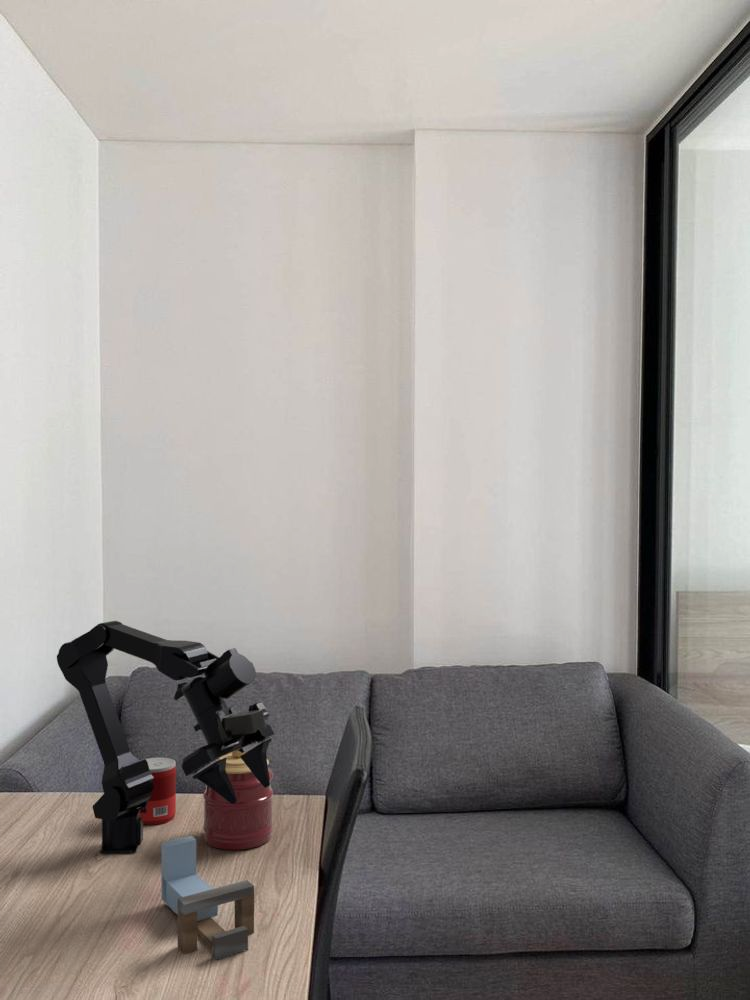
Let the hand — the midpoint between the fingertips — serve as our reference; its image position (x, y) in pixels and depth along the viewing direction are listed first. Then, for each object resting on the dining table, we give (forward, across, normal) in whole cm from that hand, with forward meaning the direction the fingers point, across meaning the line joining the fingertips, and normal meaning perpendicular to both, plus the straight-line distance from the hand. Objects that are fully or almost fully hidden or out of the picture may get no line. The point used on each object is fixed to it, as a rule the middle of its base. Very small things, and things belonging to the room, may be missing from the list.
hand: (251, 794), depth 155 cm
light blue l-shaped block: (+10, -14, +9) cm, 20 cm away
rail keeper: (+14, -17, +5) cm, 23 cm away
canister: (+5, +14, +19) cm, 24 cm away
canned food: (-6, +14, +36) cm, 39 cm away
